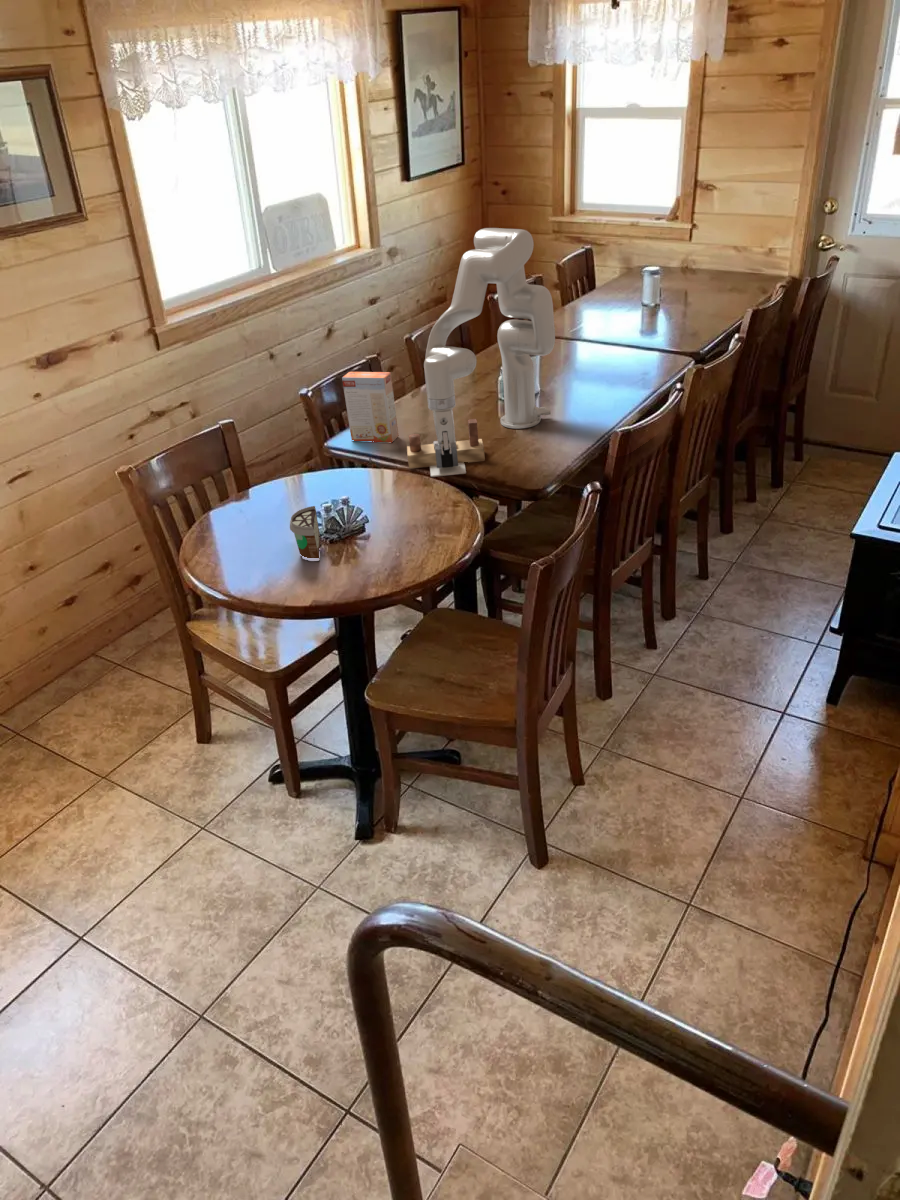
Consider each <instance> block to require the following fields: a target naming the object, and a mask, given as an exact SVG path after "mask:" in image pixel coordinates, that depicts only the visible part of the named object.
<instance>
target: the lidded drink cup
mask: <svg viewBox="0 0 900 1200" xmlns="http://www.w3.org/2000/svg"><path fill="white" fill-rule="evenodd" d="M317 515H318V514H317V509H316V506H315V505H312V506H307V507H304V508H301V509H299V510H297V511H296V512H294V513H293V514H292V515H291V517H290V520H289V529H290V531H291V532H292V533H294V537H295V541H296V544H297V549H298V551H299V555H300V554H301V555H302V556H304V557H307V558H319V548H320V538H321V535H320V528H319V521H318V516H317ZM319 536H320V537H319Z"/></svg>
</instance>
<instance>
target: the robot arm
mask: <svg viewBox="0 0 900 1200" xmlns="http://www.w3.org/2000/svg"><path fill="white" fill-rule="evenodd" d="M473 245H474V249H469V250H467V251H465V252H464V253H463V255H462V256H461V259H460V263H459V267H458V271H457V276H456V279H455V285H454V291H453V294H452V299H451V303H450V306H449V307H448V309H446V310H445V311H444V312H443V313H442V314H441V315H440V316H439V318H438V319H437V320H436V322H435V324H433V326H432V328H431V329H430V332H429V336H428V339H427V345H426V351H425V359H424V362H423V368H424V379H425V388H426V398H427V408H428V410H430V411H431V412H433V422H434V429H435V434H436V439H437V440H436V441H438V444H439V445H440V446H441V451H442V454H441V461H442V467H443V468H447V467H453V455H452V453H451V444H455V443H456V432H455V431H456V430H455V420H454V411H453V409H454V408H456V406H457V405H456V396H455V395H456V394H455V383H454V382H455V381H454V380H457V379H460V378H464V377H467V376H469V375H470V374H472V373H473V372H474V370H475V368H476V366H477V356H476V354H475V353H474V352H473V351H472V350H470V349H468V348H465V347H464V348H463V347H457V346H449V345H446V344H447V340H448V337H449V336H450V334H451V333H452V332H453V330H454V329H455V328H458V327H459V326H460V325H461V324H463V323H466V322H468V321H470V320H472V319H474V318H476V317H478V316H480V315H481V313H482V312H483V306H484V301H485V299H486V298H485V297H486V293H487V288H488V284H496V292H497V300H498V301H497V302H498V307H499V310H500V312H501V315H503V316H505V317H507V318H514V319H508V320H505V321H504V322H502V323H501V324H500V325H499V328H498V329H497V335H496V337H497V344H498V348H499V351H500V356H501V365H502V382H503V384H502V385H503V395H504V396H503V399H504V403H503V404H504V415H503V416H501V417H500V419H499V420H500V424H501V425H502V426H503V427H506V428H508V429H528V428H531V427H535V426H537V425H538V424H539V423H540V422H541V416H548V415H551V408H550V407H549V408H546V407H545V406H541V407H538V406H537V404H536V396H535V395H536V394H535V393H536V392H535V366H534V361H533V359H532V357H531V356H540V357H542V356H547V355H550V353H552V352H553V349H554V346H555V343H556V342H555V341H556V328H555V316H554V315H555V313H554V302H553V297H552V294H551V292H550V290H549V289H548V288H547V287H546V286H544V285H539V284H529V283H528V282H527V278H526V272H525V264H526V263H527V262H528V261H529V259H530V258H531V256H532V255H533V254H532V253H533V251H534V237H533V236H532V234H531V232H530V231H528V230H527V229H521V228H503V227H502V228H501V227H500V228H499V227H484V228H481V229H479V230H477V231H476V232H475V234H474V237H473ZM524 319H525V320H524ZM530 355H531V356H530ZM442 442H444V443H442ZM448 442H449V443H448ZM450 442H451V443H450ZM443 446H444V448H443ZM448 446H449V447H448Z"/></svg>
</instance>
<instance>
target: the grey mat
mask: <svg viewBox="0 0 900 1200" xmlns="http://www.w3.org/2000/svg"><path fill="white" fill-rule="evenodd" d="M466 470H467V469H466V465H465V463H464V462H462V463H458V466H453V467H447V468H437V465H433V466H429V472H430V473H429V474H430V477H431V478H436V477H443V476H444V477H445V476H454V475H464V474H467V471H466Z"/></svg>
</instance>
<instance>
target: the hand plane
mask: <svg viewBox="0 0 900 1200" xmlns="http://www.w3.org/2000/svg"><path fill="white" fill-rule="evenodd" d="M467 427H468V438H469V439H467V440H465V439H464V440H457V441H456V440H455V441H456V447H457V458H458V463H462V462H468V463H475V462H476V463H477V462H485V459H486V458H485V448H484V447H485V446H484V443H483V439H482V438H479V431H478V429H479V428H478V420H477V419H476V418H472V419H468V420H467ZM408 443H409V446H408V445H407V446H406V452H407V455H406V456H407V462H408V469H417V468H418V469H420V468H428V467H429V468H430V466H433V465H437V464H436V454H435V444H438V440H433V443H426V444H422V441H421V435H420V434H419V433H411V434H410V435H408Z"/></svg>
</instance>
